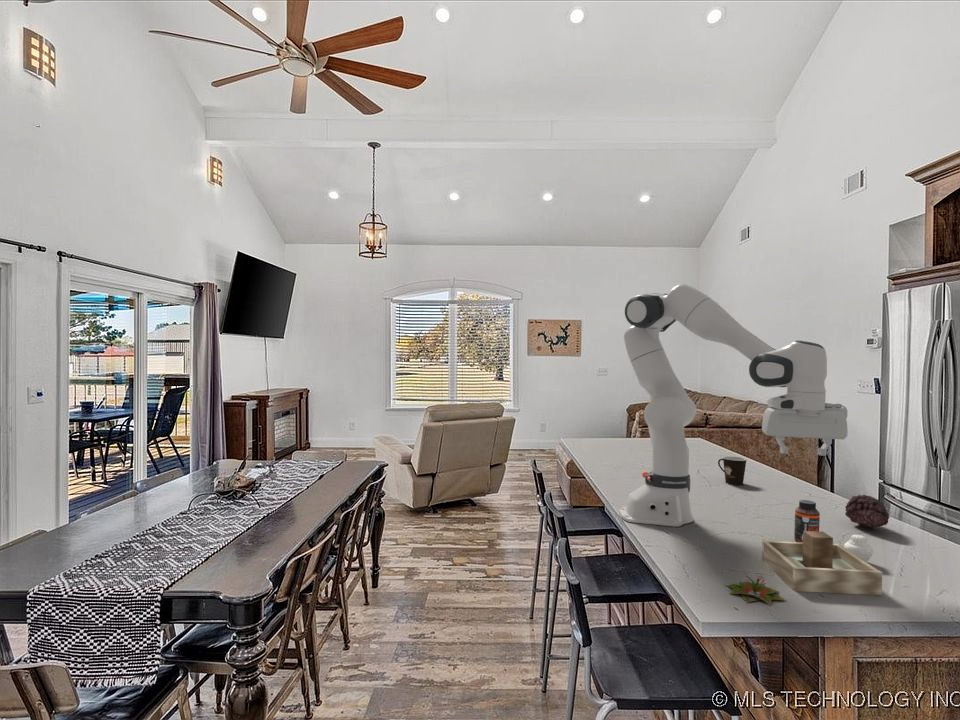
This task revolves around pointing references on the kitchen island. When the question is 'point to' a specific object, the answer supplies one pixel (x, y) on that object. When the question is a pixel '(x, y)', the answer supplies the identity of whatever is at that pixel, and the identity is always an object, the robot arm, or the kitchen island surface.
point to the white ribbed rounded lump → (859, 547)
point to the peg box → (822, 570)
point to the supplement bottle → (806, 519)
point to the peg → (817, 550)
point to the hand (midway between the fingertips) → (802, 454)
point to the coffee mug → (733, 469)
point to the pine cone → (866, 511)
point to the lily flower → (755, 590)
